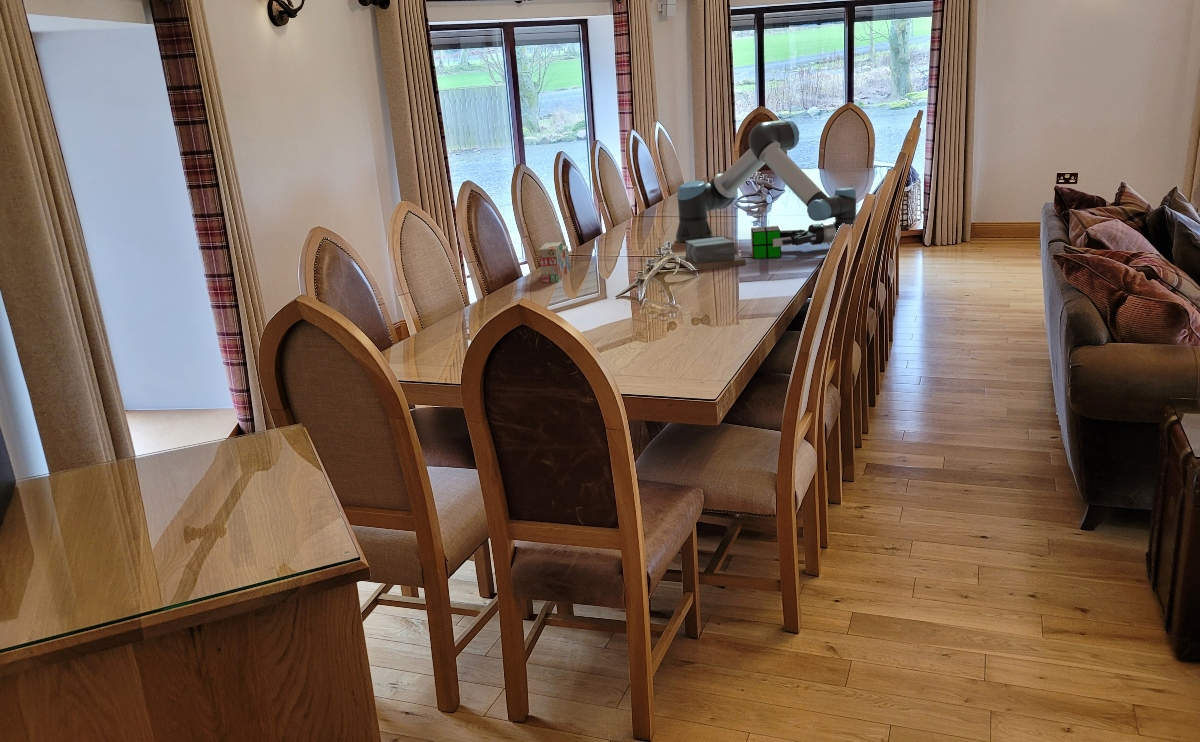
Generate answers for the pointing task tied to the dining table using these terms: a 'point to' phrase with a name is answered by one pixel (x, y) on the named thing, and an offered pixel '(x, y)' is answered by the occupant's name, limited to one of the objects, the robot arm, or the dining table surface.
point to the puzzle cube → (765, 242)
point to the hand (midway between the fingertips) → (766, 240)
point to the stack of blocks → (553, 261)
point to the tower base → (712, 253)
